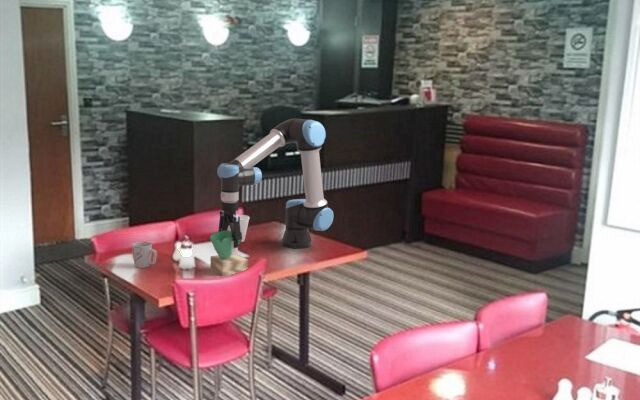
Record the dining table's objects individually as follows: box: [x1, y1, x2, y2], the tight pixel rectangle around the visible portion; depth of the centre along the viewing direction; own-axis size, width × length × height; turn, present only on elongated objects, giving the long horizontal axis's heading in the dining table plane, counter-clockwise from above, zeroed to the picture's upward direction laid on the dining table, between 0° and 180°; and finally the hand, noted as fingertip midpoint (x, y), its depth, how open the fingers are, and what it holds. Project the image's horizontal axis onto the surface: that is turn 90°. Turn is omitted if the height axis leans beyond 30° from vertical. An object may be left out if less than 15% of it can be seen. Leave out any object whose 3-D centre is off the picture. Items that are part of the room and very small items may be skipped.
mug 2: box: [209, 230, 242, 259], centre depth 297 cm, size 15×10×10 cm
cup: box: [228, 214, 250, 243], centre depth 348 cm, size 12×12×12 cm
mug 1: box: [131, 241, 158, 269], centre depth 300 cm, size 11×8×10 cm
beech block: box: [210, 254, 249, 277], centre depth 298 cm, size 12×12×6 cm
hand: (229, 252), depth 297 cm, fingers open, 9 cm apart
